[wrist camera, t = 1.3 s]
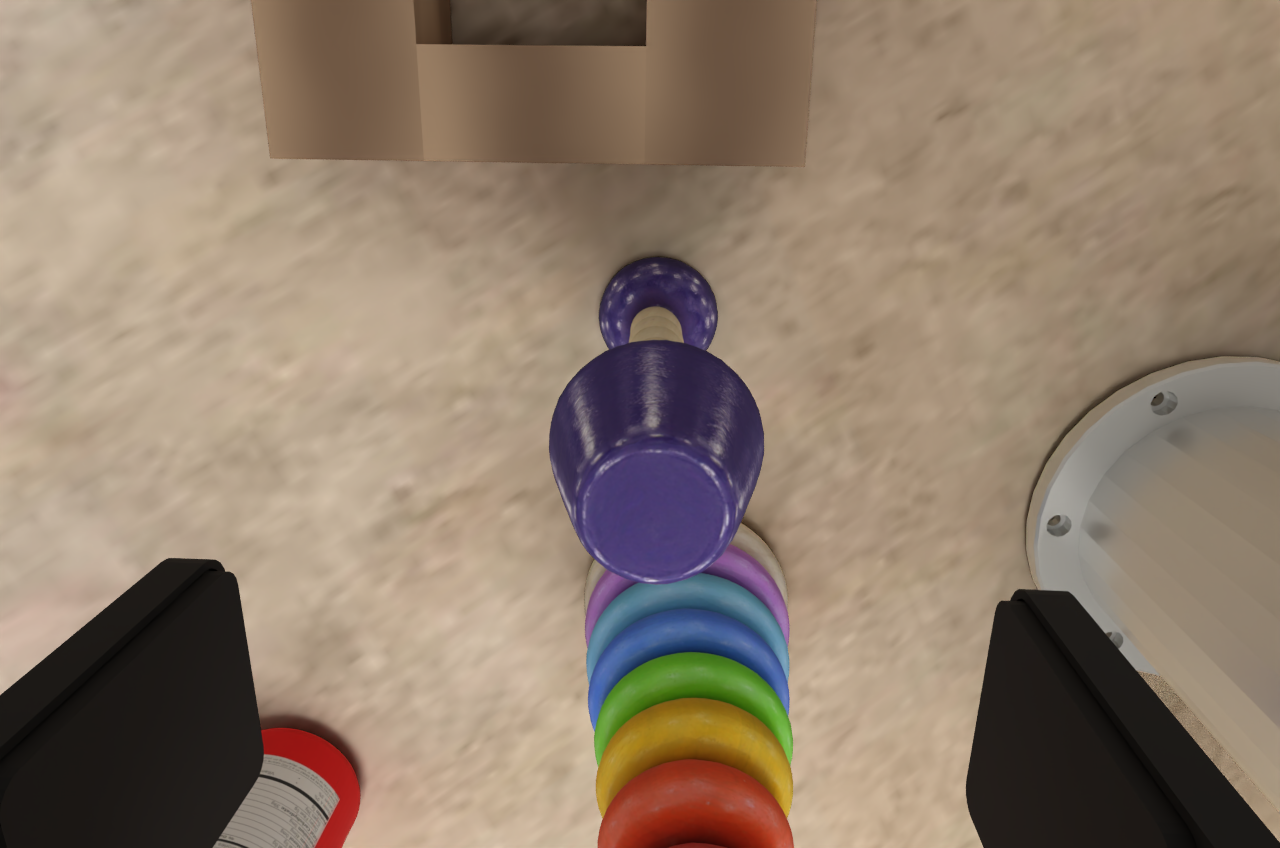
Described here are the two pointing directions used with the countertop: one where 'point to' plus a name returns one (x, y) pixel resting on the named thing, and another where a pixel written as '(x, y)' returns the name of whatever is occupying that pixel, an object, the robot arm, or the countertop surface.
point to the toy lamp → (656, 431)
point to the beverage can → (296, 796)
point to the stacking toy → (692, 704)
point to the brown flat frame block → (536, 86)
